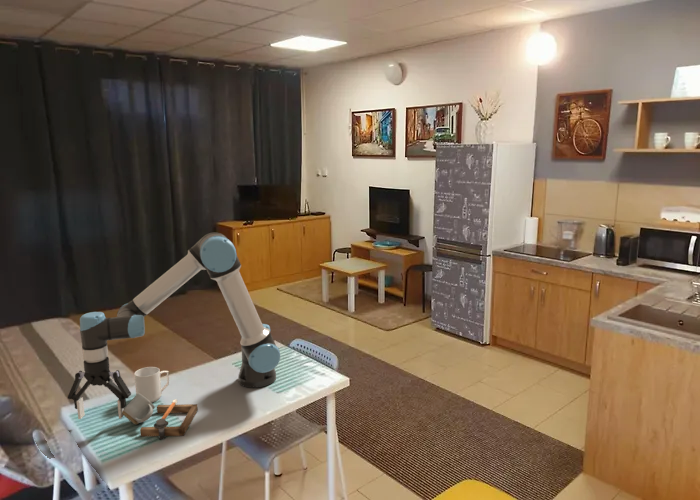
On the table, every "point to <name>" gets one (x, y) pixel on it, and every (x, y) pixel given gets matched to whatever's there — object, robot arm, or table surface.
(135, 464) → the table surface
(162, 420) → the orange long spoon
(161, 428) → the dark grey ring
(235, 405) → the table surface
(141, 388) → the mug
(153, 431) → the brown wooden flat frame
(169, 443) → the table surface
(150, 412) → the ceramic mug
